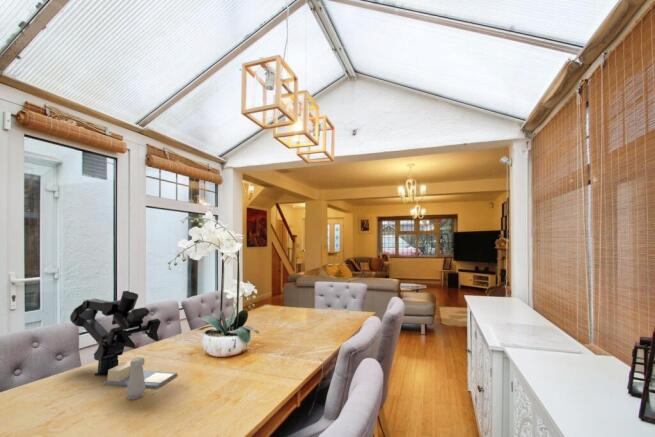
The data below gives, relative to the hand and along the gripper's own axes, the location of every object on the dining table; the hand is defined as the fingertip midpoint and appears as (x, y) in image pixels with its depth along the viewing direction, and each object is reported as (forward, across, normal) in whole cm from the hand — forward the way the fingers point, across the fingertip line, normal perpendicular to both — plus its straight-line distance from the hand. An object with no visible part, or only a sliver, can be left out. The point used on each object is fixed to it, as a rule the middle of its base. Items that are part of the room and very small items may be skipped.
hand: (146, 343), depth 118 cm
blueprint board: (+2, +2, +16) cm, 17 cm away
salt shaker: (+13, -7, +11) cm, 18 cm away
